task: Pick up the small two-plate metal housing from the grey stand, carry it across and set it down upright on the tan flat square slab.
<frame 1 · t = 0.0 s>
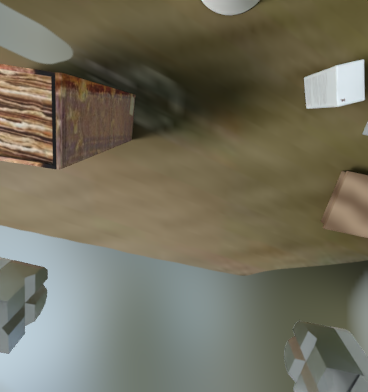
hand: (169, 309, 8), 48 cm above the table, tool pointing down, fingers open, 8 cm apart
tan flat square slab: (357, 202, 56), on the table
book: (75, 108, 53), on the table
skincare box: (315, 90, 49), on the table
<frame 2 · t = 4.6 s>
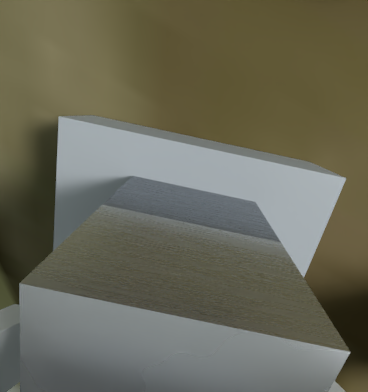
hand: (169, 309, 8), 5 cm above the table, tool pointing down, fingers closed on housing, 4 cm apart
grey stand: (180, 235, 13), on the table
housing: (175, 270, 10), point 3 cm above the table, touching grey stand, gripper
when the fingers open (7 cm above the table, at t = 9.7 s): housing drops 1 cm, resting on tan flat square slab.
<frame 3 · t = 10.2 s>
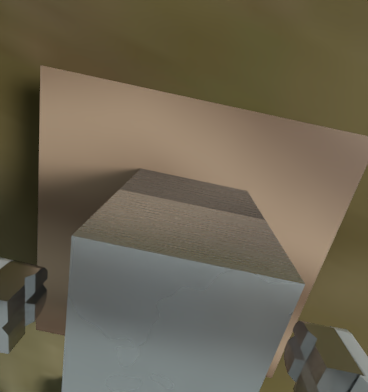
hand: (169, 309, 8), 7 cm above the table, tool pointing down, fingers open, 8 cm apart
tan flat square slab: (181, 223, 14), on the table
housing: (178, 251, 12), point 3 cm above the table, touching tan flat square slab
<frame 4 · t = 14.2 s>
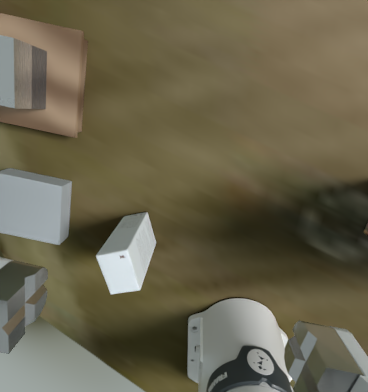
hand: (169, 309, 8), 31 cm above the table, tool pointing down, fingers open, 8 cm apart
tan flat square slab: (42, 79, 36), on the table
grey stand: (40, 203, 42), on the table
housing: (29, 77, 33), point 3 cm above the table, touching tan flat square slab
skincare box: (140, 229, 42), on the table
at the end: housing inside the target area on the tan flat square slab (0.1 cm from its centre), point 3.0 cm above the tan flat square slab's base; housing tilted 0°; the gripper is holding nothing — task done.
